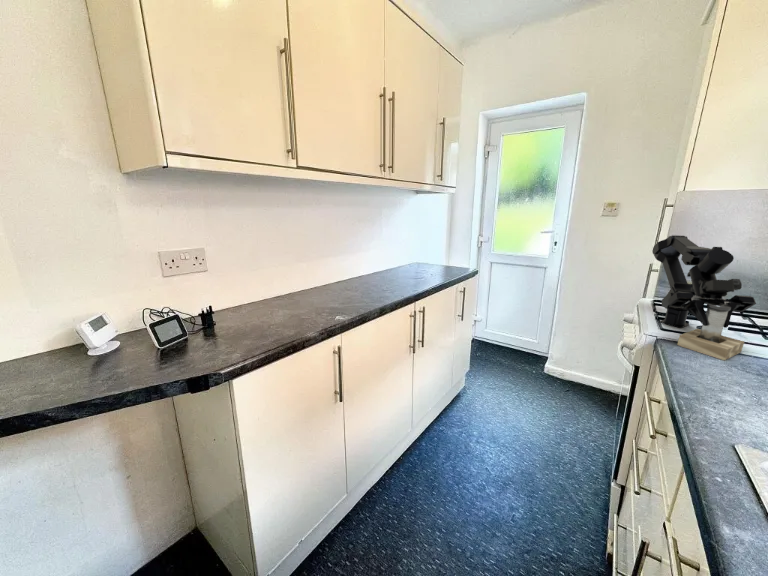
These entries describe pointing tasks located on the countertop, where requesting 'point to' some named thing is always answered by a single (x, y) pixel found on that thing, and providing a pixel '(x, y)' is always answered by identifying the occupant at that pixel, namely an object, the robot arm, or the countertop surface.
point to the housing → (711, 345)
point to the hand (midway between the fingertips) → (716, 326)
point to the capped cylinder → (714, 321)
